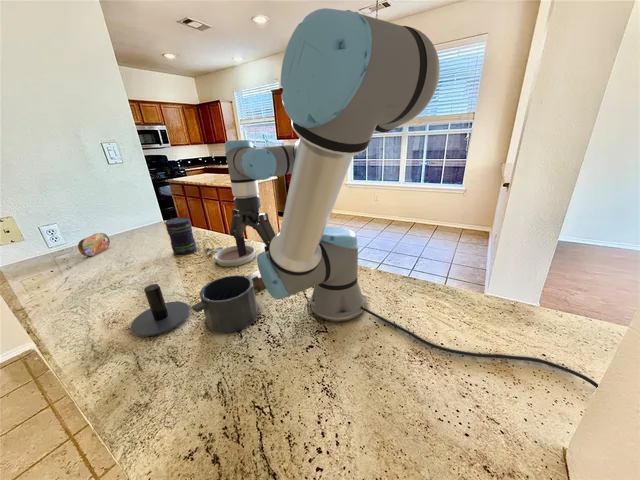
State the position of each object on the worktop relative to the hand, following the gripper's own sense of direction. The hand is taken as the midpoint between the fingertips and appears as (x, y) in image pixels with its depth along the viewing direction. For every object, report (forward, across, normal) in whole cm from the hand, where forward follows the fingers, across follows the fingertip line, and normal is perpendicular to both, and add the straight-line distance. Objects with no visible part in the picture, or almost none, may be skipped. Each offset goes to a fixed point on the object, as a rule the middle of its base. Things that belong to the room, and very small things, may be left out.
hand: (256, 260), depth 86 cm
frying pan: (+10, +32, -10) cm, 34 cm away
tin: (+10, +93, +20) cm, 95 cm away
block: (+10, 0, 0) cm, 10 cm away
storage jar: (+10, +54, -3) cm, 55 cm away
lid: (+9, +10, +28) cm, 31 cm away
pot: (+9, -6, +16) cm, 19 cm away
